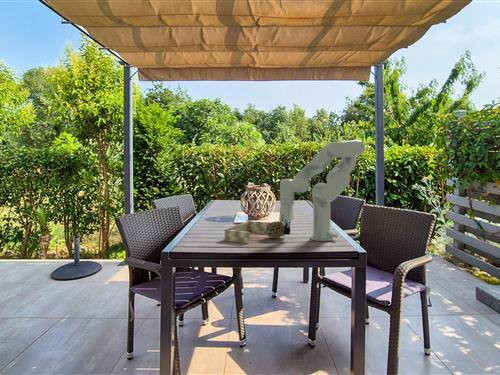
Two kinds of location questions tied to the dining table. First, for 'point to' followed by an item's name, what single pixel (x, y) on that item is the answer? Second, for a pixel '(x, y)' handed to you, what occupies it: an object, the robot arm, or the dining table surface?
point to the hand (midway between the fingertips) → (286, 234)
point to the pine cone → (273, 230)
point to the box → (244, 231)
